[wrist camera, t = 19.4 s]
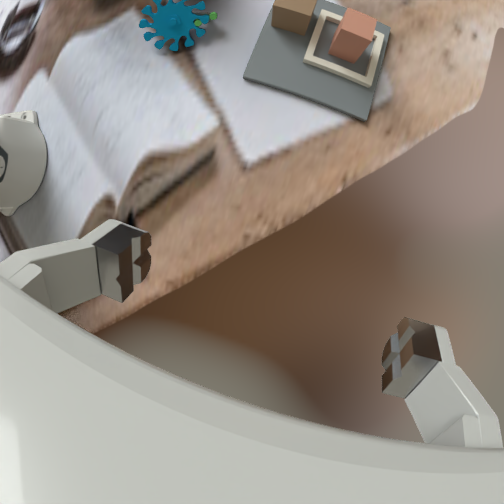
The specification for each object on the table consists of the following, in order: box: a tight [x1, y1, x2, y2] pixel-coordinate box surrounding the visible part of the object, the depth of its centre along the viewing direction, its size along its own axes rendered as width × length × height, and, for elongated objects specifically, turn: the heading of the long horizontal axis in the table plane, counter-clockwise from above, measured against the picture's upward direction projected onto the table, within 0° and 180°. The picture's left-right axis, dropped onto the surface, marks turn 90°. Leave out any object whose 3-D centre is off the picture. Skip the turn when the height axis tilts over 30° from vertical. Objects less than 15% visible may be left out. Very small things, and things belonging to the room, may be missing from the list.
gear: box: [139, 0, 217, 51], centre depth 35 cm, size 11×6×10 cm
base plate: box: [243, 0, 390, 122], centre depth 34 cm, size 18×18×7 cm
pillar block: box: [328, 8, 377, 64], centre depth 33 cm, size 4×4×8 cm
